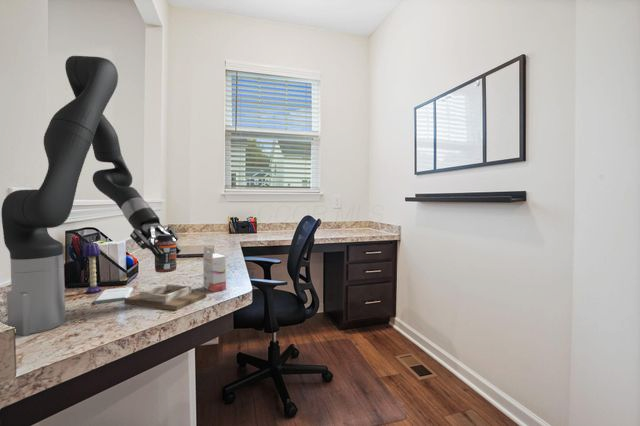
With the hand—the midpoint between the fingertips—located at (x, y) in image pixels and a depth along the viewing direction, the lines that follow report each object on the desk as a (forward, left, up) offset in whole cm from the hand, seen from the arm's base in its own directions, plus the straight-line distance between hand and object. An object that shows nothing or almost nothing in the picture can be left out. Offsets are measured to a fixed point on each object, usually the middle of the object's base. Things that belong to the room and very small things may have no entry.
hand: (170, 254), depth 89 cm
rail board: (0, +2, -14) cm, 14 cm away
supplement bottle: (0, +2, -5) cm, 6 cm away
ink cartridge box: (+15, -4, -15) cm, 21 cm away
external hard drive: (-3, +21, -15) cm, 26 cm away
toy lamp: (-2, +32, -14) cm, 35 cm away
